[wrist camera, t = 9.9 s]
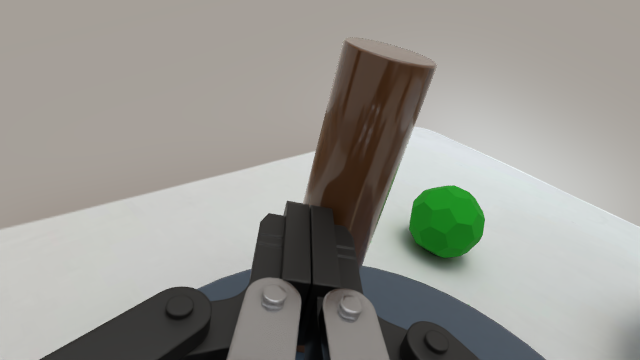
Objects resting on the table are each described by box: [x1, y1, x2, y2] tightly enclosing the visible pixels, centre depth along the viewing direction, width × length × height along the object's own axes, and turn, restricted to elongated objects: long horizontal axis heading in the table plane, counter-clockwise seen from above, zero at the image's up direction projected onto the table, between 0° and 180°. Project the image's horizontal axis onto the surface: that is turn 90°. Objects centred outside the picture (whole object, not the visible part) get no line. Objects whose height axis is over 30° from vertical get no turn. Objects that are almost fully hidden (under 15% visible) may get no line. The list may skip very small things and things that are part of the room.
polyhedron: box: [409, 186, 485, 258], centre depth 26 cm, size 5×5×5 cm
